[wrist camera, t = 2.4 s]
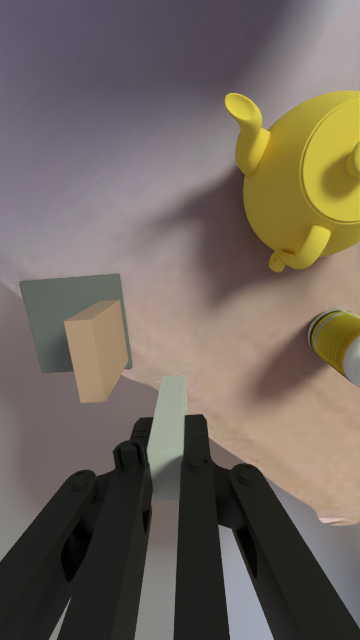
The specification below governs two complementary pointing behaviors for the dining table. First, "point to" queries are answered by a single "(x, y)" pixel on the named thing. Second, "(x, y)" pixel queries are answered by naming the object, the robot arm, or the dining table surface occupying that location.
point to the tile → (97, 349)
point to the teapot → (301, 176)
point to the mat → (65, 313)
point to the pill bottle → (338, 342)
